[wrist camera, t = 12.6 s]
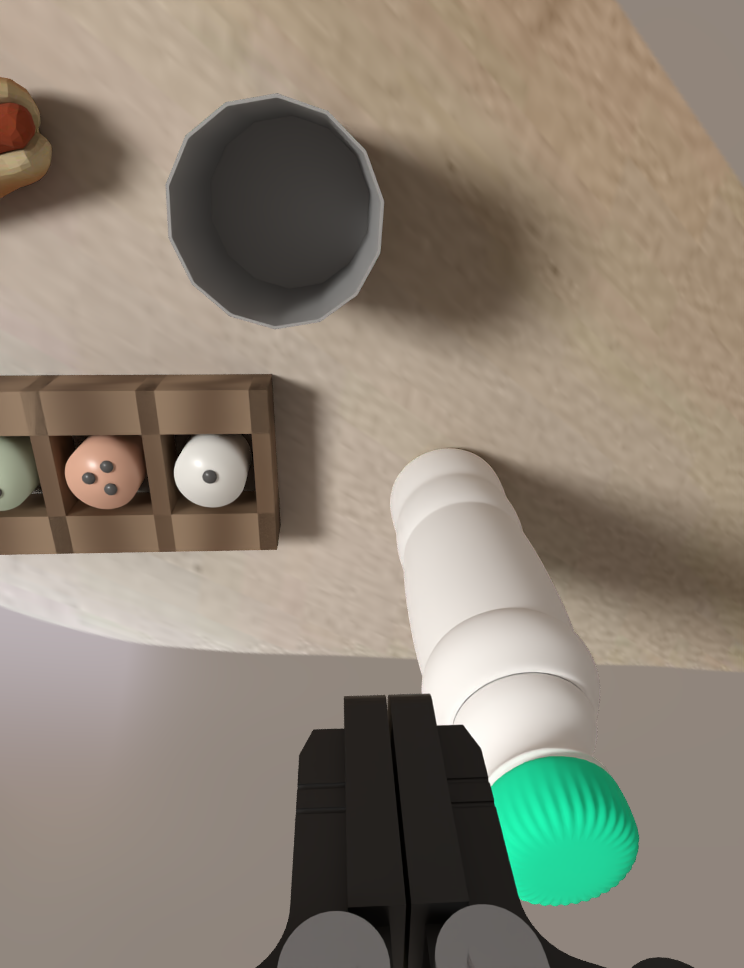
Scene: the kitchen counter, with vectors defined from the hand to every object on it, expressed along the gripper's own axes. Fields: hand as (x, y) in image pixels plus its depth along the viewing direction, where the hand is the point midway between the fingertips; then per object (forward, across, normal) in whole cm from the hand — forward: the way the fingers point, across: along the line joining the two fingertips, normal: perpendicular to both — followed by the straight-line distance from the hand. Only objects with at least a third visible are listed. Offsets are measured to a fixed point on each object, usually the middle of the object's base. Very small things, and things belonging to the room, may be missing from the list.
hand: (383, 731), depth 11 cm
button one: (+29, +8, +7) cm, 31 cm away
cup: (+29, +3, -7) cm, 30 cm away
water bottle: (+29, -6, +10) cm, 31 cm away
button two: (+29, +20, +7) cm, 36 cm away
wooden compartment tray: (+29, +14, +7) cm, 33 cm away
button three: (+29, +14, +7) cm, 33 cm away
